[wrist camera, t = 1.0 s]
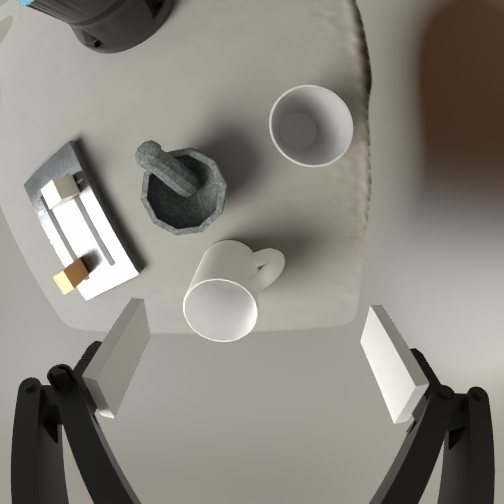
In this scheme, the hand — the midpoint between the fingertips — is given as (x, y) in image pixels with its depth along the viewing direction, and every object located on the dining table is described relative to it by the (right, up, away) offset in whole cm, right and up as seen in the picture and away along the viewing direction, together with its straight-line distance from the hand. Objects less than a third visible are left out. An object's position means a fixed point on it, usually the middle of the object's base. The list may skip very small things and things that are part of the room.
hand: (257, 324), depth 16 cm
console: (-27, +9, +23) cm, 36 cm away
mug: (-2, +3, +25) cm, 25 cm away
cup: (+5, +19, +19) cm, 27 cm away
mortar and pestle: (-8, +14, +21) cm, 26 cm away
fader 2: (-27, +1, +23) cm, 35 cm away
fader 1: (-26, +13, +19) cm, 35 cm away
